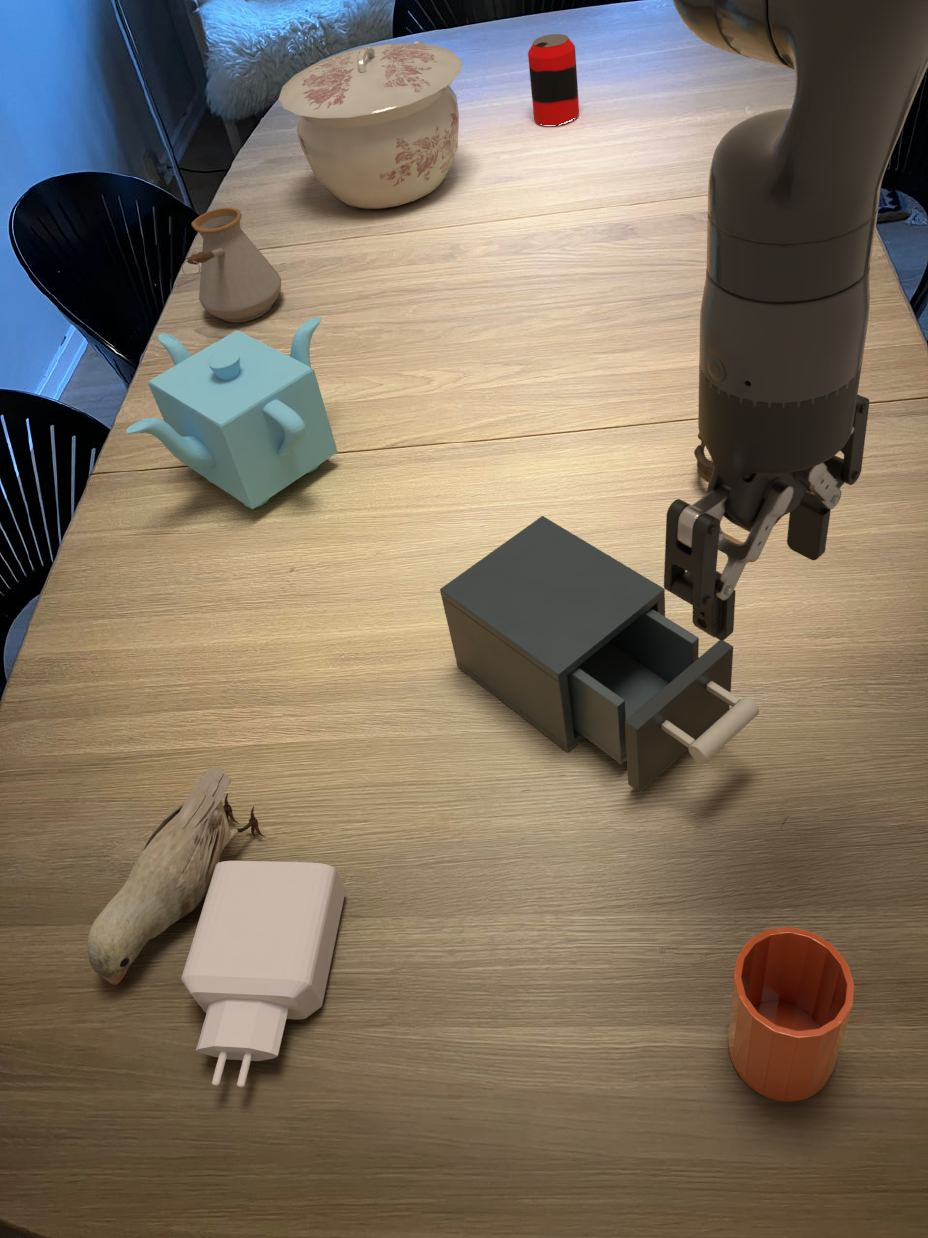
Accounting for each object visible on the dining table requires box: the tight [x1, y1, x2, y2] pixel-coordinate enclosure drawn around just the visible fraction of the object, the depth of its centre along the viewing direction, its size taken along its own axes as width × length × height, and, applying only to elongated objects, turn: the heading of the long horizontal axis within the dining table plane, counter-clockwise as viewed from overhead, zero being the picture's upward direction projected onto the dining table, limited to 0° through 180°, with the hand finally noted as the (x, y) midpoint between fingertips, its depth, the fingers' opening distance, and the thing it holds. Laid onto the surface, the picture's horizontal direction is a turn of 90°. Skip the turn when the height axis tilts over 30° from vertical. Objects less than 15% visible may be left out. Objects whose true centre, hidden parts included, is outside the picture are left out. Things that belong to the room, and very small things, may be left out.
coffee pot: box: [181, 207, 282, 323], centre depth 134 cm, size 21×12×15 cm, turn 179°
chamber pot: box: [278, 40, 463, 209], centre depth 156 cm, size 28×28×21 cm
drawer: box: [567, 608, 760, 794], centre depth 80 cm, size 17×11×8 cm, turn 41°
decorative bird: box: [86, 765, 266, 985], centre depth 76 cm, size 5×16×8 cm, turn 148°
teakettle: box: [125, 316, 339, 510], centre depth 111 cm, size 19×19×15 cm
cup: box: [727, 926, 855, 1103], centre depth 62 cm, size 6×6×10 cm
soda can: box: [527, 33, 580, 125], centre depth 169 cm, size 8×8×12 cm
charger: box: [181, 860, 347, 1089], centre depth 71 cm, size 5×9×15 cm
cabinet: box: [439, 515, 666, 753], centre depth 86 cm, size 14×12×10 cm
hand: (760, 589), depth 61 cm, fingers open, 8 cm apart
